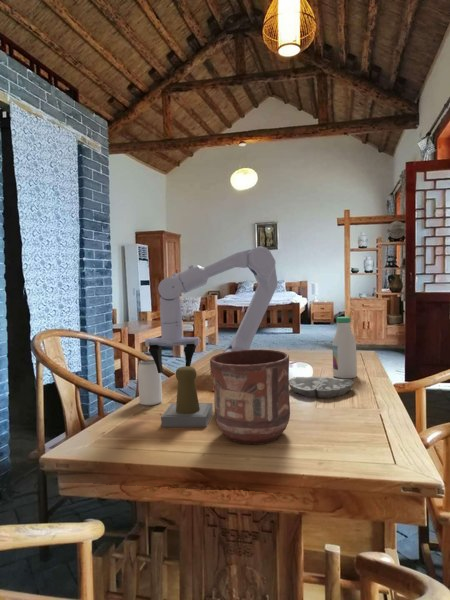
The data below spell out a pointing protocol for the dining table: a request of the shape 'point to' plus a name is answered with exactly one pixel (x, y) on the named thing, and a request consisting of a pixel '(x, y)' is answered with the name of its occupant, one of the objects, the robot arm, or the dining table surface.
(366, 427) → the dining table surface
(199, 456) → the dining table surface
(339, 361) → the milk bottle
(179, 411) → the olive bowling pin
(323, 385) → the brain slice
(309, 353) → the dining table surface
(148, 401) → the can
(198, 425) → the grey flat square block
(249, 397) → the pottery
